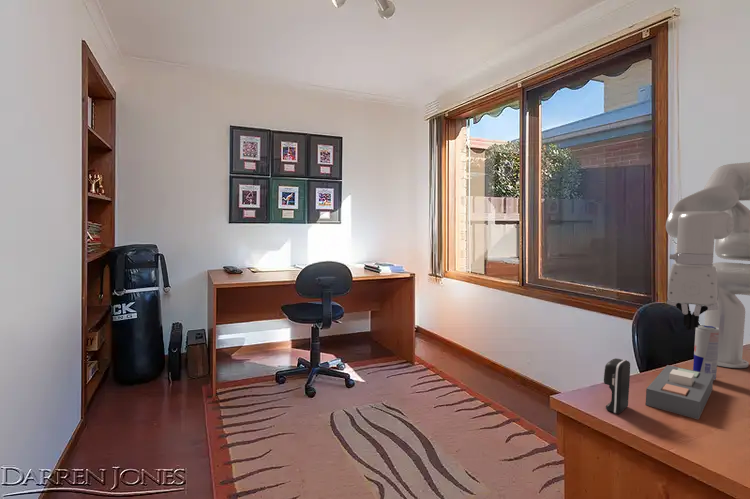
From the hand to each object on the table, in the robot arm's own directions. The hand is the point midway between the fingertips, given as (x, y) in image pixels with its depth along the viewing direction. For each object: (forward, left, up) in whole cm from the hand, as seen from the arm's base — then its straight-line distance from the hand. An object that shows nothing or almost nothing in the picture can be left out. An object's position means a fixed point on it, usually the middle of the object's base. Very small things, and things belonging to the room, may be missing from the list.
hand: (690, 329), depth 107 cm
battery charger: (+20, -22, -16) cm, 34 cm away
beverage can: (-9, +8, -16) cm, 20 cm away
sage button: (+1, 0, -15) cm, 15 cm away
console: (+7, -4, -16) cm, 18 cm away
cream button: (+7, -4, -13) cm, 16 cm away
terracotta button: (+14, -8, -15) cm, 22 cm away
